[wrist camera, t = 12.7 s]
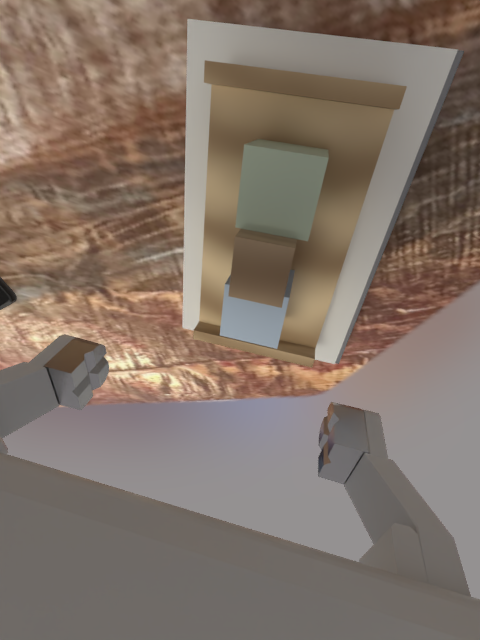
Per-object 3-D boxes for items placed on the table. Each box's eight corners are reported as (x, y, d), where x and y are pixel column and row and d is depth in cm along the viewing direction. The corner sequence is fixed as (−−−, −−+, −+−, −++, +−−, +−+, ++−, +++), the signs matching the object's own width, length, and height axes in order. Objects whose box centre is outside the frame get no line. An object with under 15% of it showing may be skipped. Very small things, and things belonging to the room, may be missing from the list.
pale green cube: (258, 138, 20) (244, 144, 17) (328, 149, 20) (328, 157, 16) (249, 209, 23) (235, 227, 19) (310, 220, 22) (307, 241, 19)
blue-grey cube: (239, 259, 25) (224, 283, 22) (294, 270, 25) (289, 297, 21) (233, 306, 28) (219, 335, 24) (283, 317, 27) (277, 348, 24)
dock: (207, 32, 23) (187, 18, 20) (443, 60, 21) (465, 50, 18) (195, 308, 36) (182, 327, 33) (337, 341, 34) (338, 365, 31)
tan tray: (221, 67, 20) (172, 46, 14) (395, 90, 19) (430, 78, 13) (205, 318, 32) (174, 371, 25) (313, 343, 31) (309, 406, 24)
